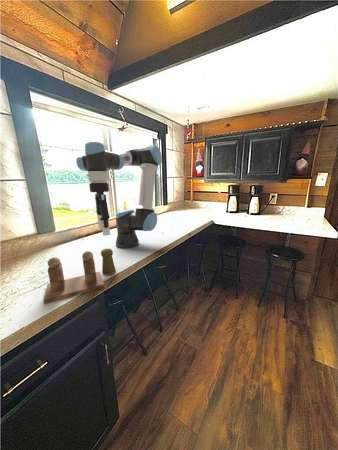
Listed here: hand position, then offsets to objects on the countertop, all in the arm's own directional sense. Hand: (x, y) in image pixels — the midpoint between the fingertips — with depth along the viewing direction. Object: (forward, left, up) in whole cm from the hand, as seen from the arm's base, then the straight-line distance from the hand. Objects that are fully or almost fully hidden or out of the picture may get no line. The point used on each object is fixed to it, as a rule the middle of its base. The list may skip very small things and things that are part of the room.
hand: (104, 231), depth 80 cm
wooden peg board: (+14, +7, -19) cm, 25 cm away
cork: (0, 0, -20) cm, 20 cm away
